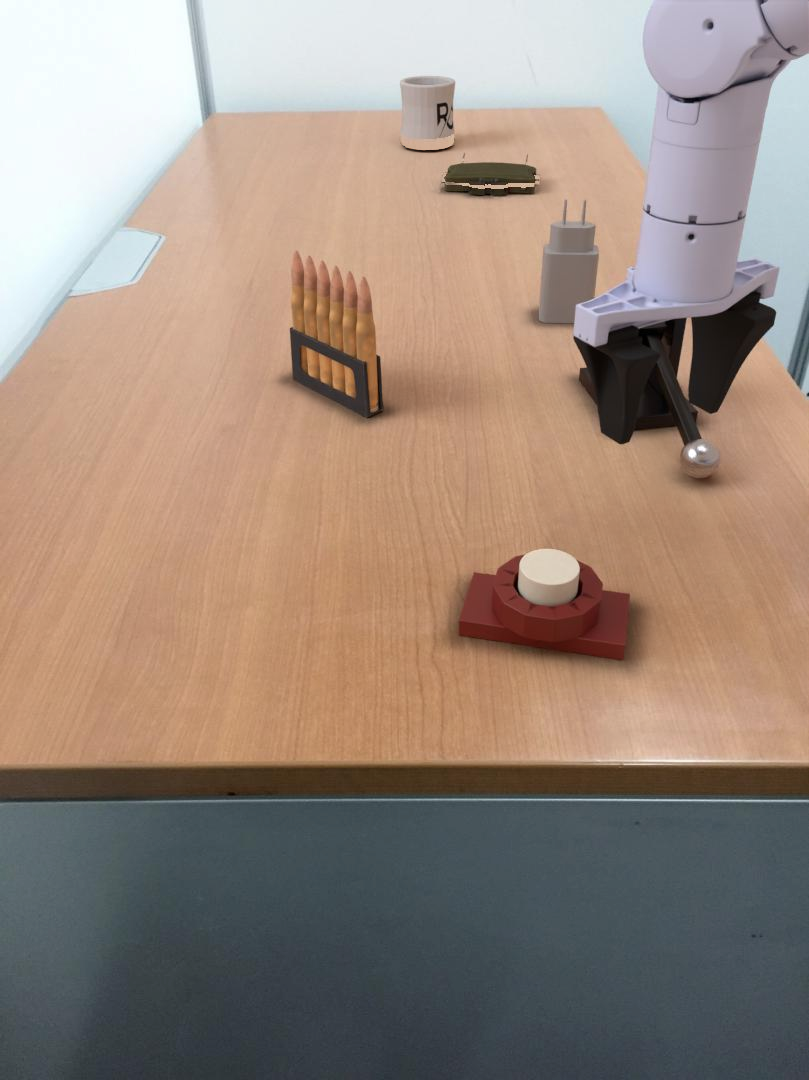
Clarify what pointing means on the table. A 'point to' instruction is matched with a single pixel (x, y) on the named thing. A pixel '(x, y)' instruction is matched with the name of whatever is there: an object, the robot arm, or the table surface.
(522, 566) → the button
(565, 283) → the power adapter
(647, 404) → the black pivot stand
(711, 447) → the lever
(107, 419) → the table surface
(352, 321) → the ammunition clip
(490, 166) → the landmine
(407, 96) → the mug
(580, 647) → the block
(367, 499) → the table surface
